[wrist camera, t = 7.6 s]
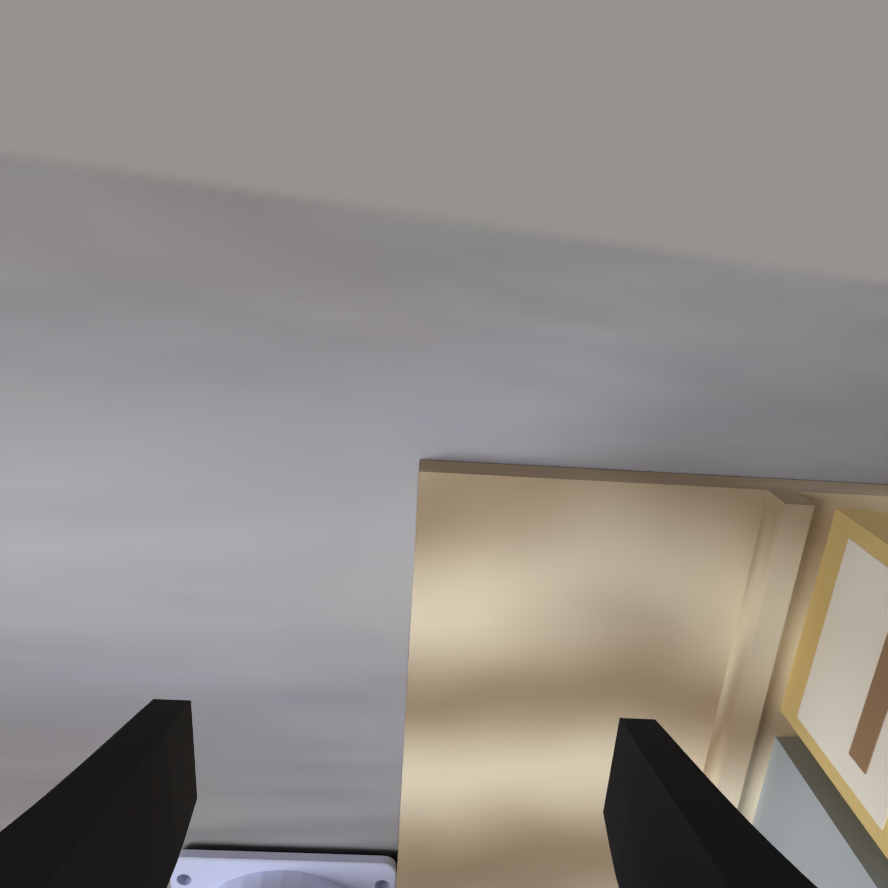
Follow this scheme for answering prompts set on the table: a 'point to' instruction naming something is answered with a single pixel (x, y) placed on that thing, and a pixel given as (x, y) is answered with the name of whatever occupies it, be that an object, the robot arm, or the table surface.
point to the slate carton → (815, 822)
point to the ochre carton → (848, 668)
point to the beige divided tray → (591, 651)
